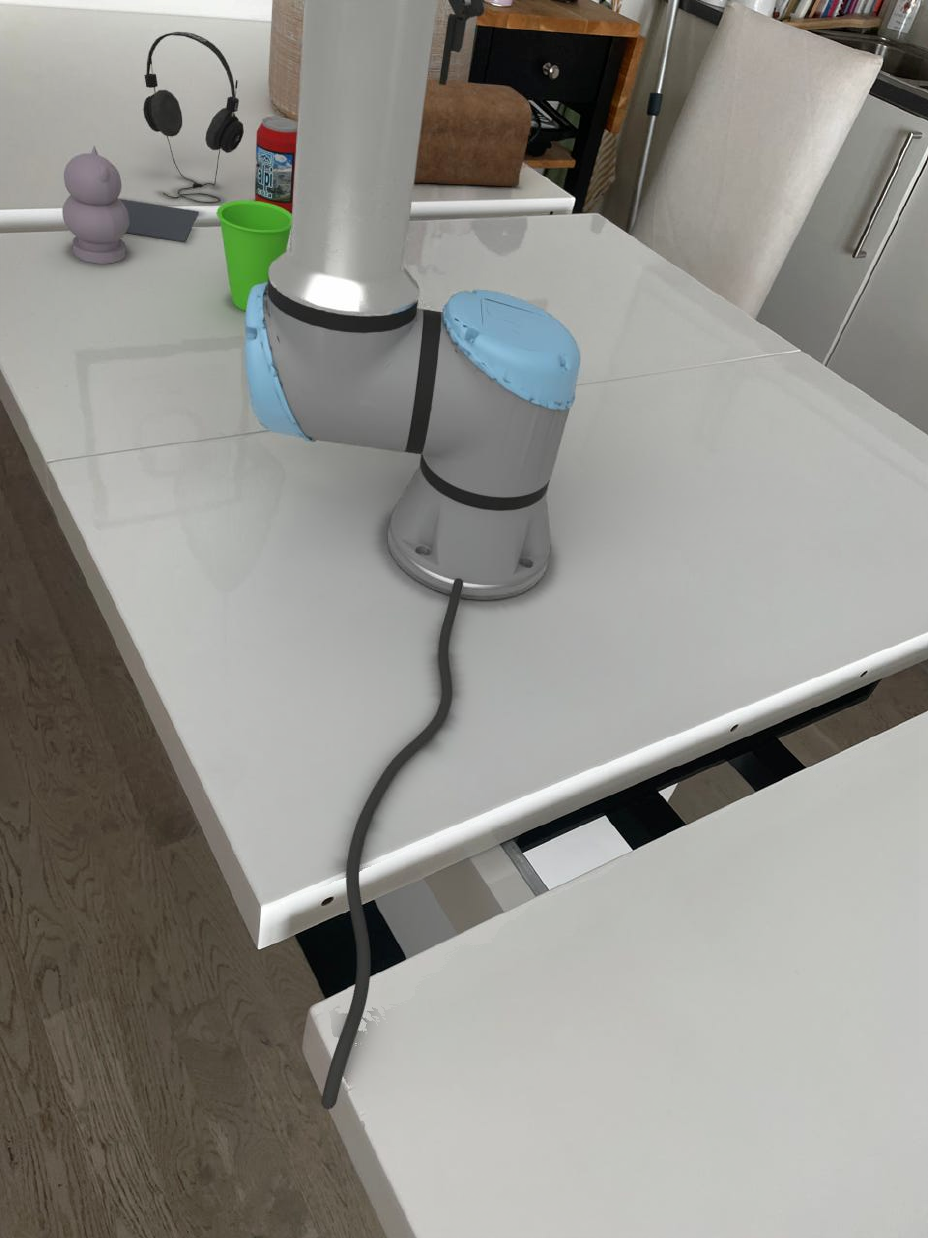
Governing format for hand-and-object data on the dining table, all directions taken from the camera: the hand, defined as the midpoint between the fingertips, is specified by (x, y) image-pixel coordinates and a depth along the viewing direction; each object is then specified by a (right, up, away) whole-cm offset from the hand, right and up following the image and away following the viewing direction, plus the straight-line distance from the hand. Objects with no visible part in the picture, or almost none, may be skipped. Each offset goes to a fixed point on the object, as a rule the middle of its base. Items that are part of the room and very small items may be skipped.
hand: (383, 69), depth 111 cm
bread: (+1, +16, +60) cm, 62 cm away
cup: (-17, -23, +12) cm, 31 cm away
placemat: (-34, -7, +25) cm, 43 cm away
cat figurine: (-38, -15, +15) cm, 43 cm away
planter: (-10, +34, +77) cm, 85 cm away
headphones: (-33, +3, +37) cm, 49 cm away
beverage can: (-19, -1, +36) cm, 41 cm away
